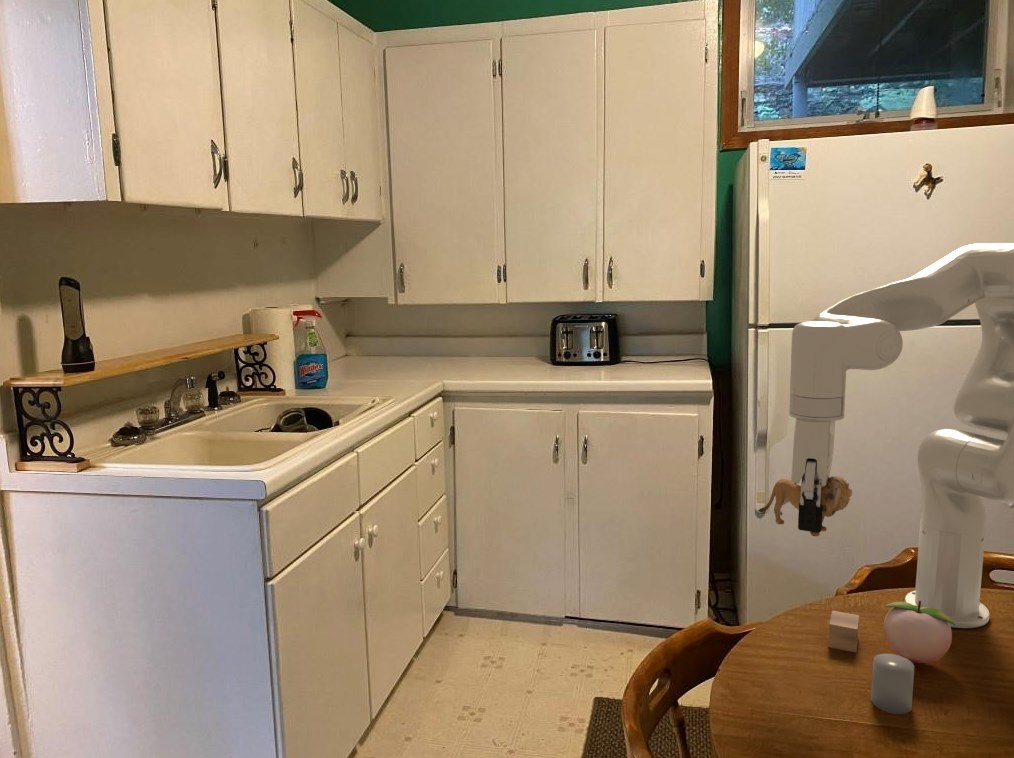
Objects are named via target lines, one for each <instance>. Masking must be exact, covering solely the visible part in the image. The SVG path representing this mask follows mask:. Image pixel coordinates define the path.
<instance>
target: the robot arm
mask: <svg viewBox="0 0 1014 758" xmlns="http://www.w3.org/2000/svg"><path fill="white" fill-rule="evenodd" d="M973 304H974V305H975V308H976V311H977V315H978V318H979V323H980V328H981V342H980V343H981V344H980V347H979V350H978V352H977V354H976V356H975V358H974V360H973V362H972V364H971V367H969V370H968V372H967V374H966V377H964V378H965V379H964V380H963V383H962V385H961V387H960V388H959V390H958V392H957V395H956V397H955V401H954V404H953V412H954V415H955V417H956V418H957V420H958V421H959V422H961V424H964V425H966V426H968V427H970V428H974V429H978V430H983V431H986V432H990V433H995V434H999V435H1003V436H1007V437H1006V439H1000V438H994V437H991V436H987V435H984V434H980V433H979V434H978V433H974V432H969V431H965V430H960V429H956V428H953V429H952V428H943V429H937V430H934V431H932V432H930V433H928V434H927V435H926V436H925V437H924V438H923V439H922V440H921V443H920V444H919V447H918V451H917V466H918V475H919V479H920V486H921V487H920V490H921V503H920V505H921V509H920V519H919V520H920V521H919V522H920V523H919V534H918V548H917V549H918V550H917V564H916V576H915V577H916V579H915V589H914V590H913V591H910V592H908V593H907V594H906V595H905V596H904V602H906V603H910V604H912V605H914V606H915V607H917V608H918V602H919V601H921V606H920V608H921V607H927V608H933V609H937V610H939V611H941V612H943V613H945V614H946V615H947V616H949V617H950V618H951V619H952V620H953V622H954V623H955V625H953V624H951V623H949V624H950V627H951V628H956V629H973V628H974V629H975V628H979V627H982V626H984V625H986V624H988V622H989V620H990V610H989V609H988V608H987V607H986V605H984V604H983V603H981V602H980V599H981V597H980V596H981V589H982V588H981V586H982V575H983V565H984V564H983V563H984V551H985V550H984V549H985V537H986V530H987V529H986V528H987V513H986V508H985V505H984V503H983V500H982V498H986V499H988V500H991V501H995V502H999V503H1003V504H1008V505H1009V504H1011V505H1013V504H1014V242H1002V243H1001V242H991V243H989V242H986V243H985V242H983V243H972V244H967V245H963V246H961V247H959V248H957V249H955V250H953V251H951V252H950V253H948V254H947V255H945V256H943V257H941V258H940V259H938V260H936V261H935V262H933V263H932V264H930V265H929V266H927V267H925V268H924V269H922V270H920V271H917V273H915V274H914V275H912V276H910V277H908V278H905V279H902V280H897V281H894V282H891V283H887V284H886V285H882V286H880V287H875V288H872V289H869V290H867V291H862V292H860V293H857V294H854V295H851V296H848V297H847V298H844V299H842V300H840V301H838V302H837V303H835V304H833V305H831V306H830V307H828V308H826V309H825V310H823V311H822V312H820V313H819V314H818V315H816V316H815V317H814V318H813V319H812V321H811V320H810V321H803V322H799V323H797V324H796V325H794V327H793V329H792V333H791V345H790V346H791V352H790V378H789V379H790V381H789V383H790V385H789V406H788V407H789V411H788V412H789V413H788V415H789V417H792V418H794V419H795V423H794V424H795V425H794V434H793V444H792V446H793V448H792V462H791V464H792V466H791V474H790V475H791V476H790V480H791V482H792V484H794V485H796V484H800V482H801V484H800V486H801V496H800V503H799V510H798V518H797V522H798V524H797V529H798V530H799V531H804V532H809V533H810V532H818V533H821V532H822V531H821V530H822V526H823V523H822V510H823V506H822V505H821V493H822V488H823V487H825V486H826V485H827V482H828V478H830V475H831V471H832V463H833V459H834V449H835V448H834V446H835V445H834V444H835V432H836V431H835V430H836V429H835V428H836V421H841V420H843V419H844V418H845V409H846V408H845V405H846V388H847V386H846V385H847V384H846V382H847V371H848V370H862V371H863V370H864V371H876V370H881V369H885V368H887V367H889V366H890V365H892V364H894V362H895V361H897V360H898V358H899V357H900V355H901V353H902V350H903V347H904V344H903V337H902V333H901V332H908V331H909V332H911V331H918V330H924V329H929V328H933V327H937V326H939V325H942V324H944V323H945V322H947V321H948V320H950V319H951V318H953V317H955V316H956V315H957V314H959V313H960V312H962V311H963V310H965V309H967V308H969V307H970V306H972V305H973ZM815 482H819V485H817V484H814V483H815ZM814 489H817V494H816V492H814Z"/></svg>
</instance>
